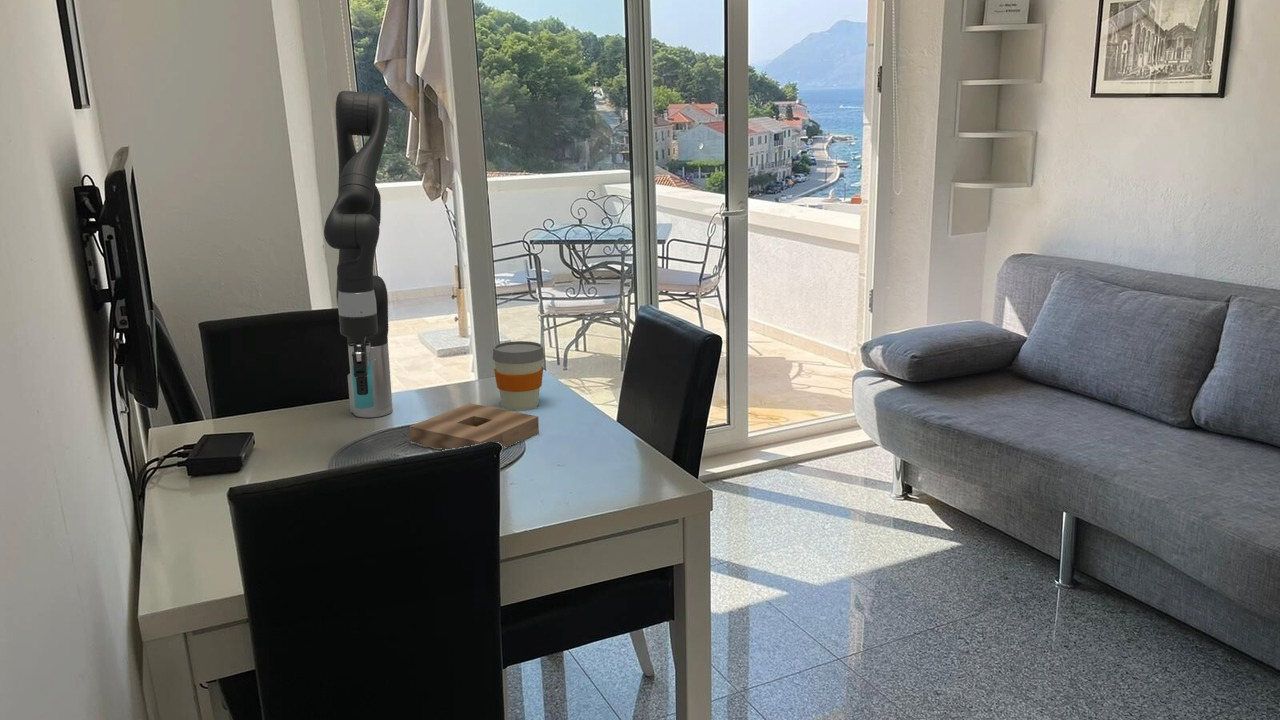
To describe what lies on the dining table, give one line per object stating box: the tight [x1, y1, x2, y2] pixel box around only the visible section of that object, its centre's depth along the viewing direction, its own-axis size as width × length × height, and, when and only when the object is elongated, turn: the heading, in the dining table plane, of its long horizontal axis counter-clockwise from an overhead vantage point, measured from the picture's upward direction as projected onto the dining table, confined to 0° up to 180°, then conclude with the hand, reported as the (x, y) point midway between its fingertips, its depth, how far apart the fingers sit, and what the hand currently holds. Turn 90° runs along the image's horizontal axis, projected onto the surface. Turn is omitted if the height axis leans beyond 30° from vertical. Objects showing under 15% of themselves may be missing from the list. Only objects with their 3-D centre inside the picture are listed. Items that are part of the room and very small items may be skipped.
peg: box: [351, 358, 374, 409], centre depth 194 cm, size 4×4×10 cm
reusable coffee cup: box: [492, 340, 545, 412], centre depth 228 cm, size 13×13×15 cm
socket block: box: [409, 402, 540, 451], centre depth 205 cm, size 20×20×4 cm
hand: (363, 390), depth 194 cm, fingers closed on peg, 4 cm apart
